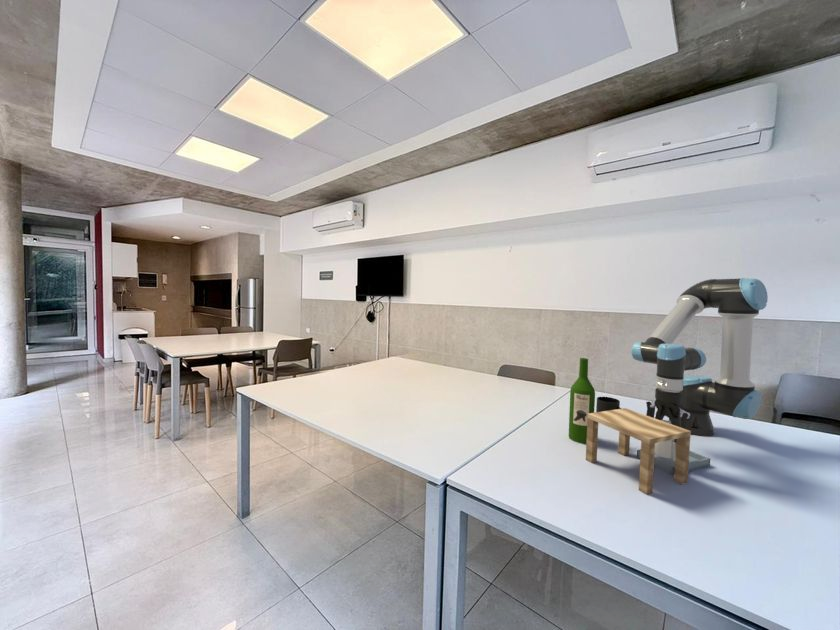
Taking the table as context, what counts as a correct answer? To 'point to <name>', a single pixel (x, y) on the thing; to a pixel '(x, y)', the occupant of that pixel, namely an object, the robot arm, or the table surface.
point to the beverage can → (664, 447)
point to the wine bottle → (581, 404)
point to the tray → (669, 465)
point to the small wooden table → (648, 434)
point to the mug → (607, 404)
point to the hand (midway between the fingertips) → (665, 455)
